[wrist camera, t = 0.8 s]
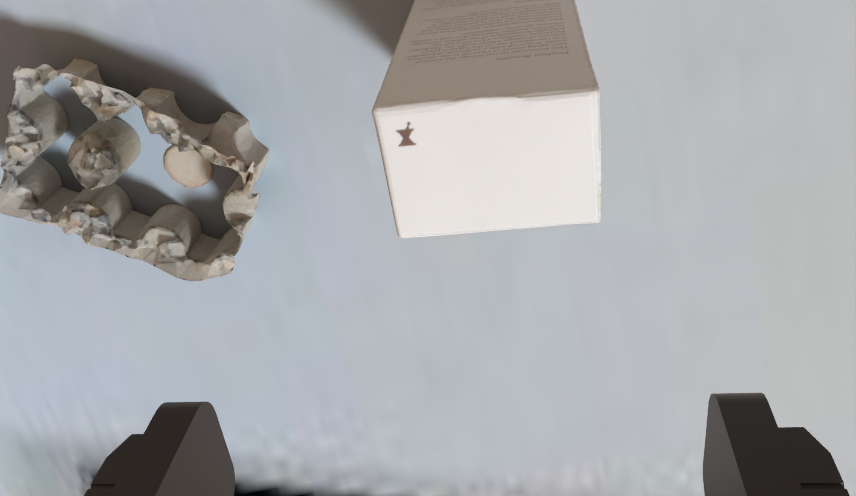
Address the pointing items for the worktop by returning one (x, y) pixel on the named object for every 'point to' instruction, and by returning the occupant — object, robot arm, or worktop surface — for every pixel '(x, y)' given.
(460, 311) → the worktop surface
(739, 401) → the robot arm
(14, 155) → the egg carton
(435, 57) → the skincare box
